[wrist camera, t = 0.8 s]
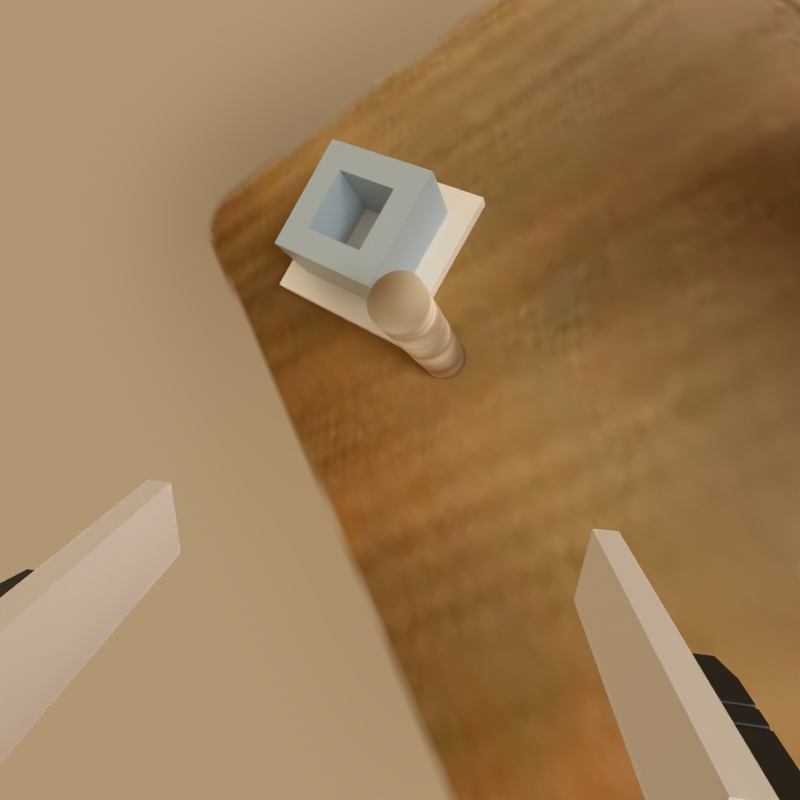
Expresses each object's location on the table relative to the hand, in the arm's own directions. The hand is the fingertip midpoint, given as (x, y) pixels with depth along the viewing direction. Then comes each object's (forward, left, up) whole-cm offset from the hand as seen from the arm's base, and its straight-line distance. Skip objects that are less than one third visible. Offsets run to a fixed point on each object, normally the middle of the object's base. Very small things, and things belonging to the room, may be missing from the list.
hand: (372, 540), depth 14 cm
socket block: (-17, -21, -25) cm, 37 cm away
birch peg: (-10, -9, -25) cm, 29 cm away
